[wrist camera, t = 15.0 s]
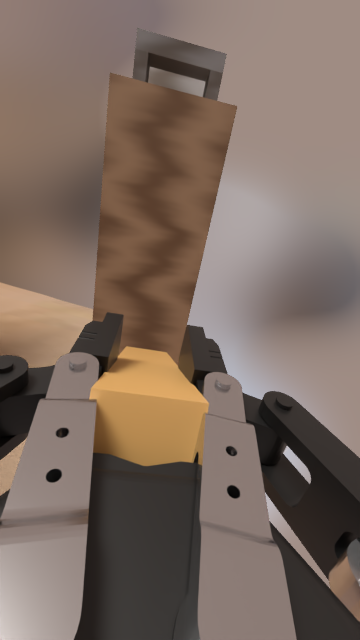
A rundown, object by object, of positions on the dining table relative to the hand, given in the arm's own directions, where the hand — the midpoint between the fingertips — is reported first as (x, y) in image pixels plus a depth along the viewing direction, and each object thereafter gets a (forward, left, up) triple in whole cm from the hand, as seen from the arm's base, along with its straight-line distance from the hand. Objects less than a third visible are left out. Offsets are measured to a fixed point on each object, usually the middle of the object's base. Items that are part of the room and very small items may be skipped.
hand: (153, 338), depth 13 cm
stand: (-1, +22, -19) cm, 29 cm away
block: (0, 0, -3) cm, 3 cm away
